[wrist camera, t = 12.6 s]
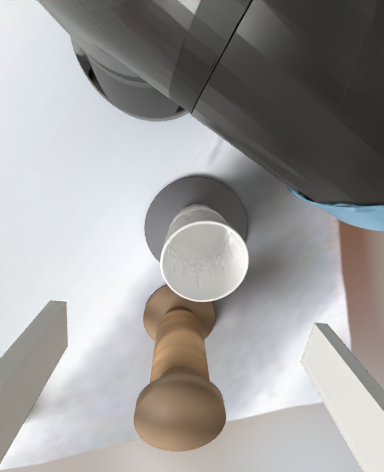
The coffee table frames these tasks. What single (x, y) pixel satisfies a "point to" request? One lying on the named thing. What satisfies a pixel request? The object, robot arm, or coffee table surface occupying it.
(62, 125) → the coffee table surface
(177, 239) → the white cup
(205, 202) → the pad
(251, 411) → the coffee table surface
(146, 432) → the doorknob
